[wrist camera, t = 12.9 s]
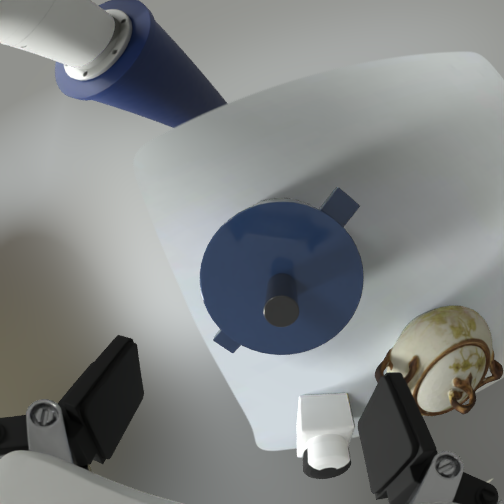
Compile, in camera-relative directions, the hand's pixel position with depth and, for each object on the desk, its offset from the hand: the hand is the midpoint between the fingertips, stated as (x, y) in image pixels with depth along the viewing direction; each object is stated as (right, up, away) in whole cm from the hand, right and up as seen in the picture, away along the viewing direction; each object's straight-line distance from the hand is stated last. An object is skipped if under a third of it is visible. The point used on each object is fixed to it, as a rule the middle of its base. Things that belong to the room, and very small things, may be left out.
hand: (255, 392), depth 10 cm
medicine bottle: (+10, -18, +28) cm, 35 cm away
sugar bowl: (+23, -7, +23) cm, 34 cm away
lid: (+2, +3, +14) cm, 14 cm away
